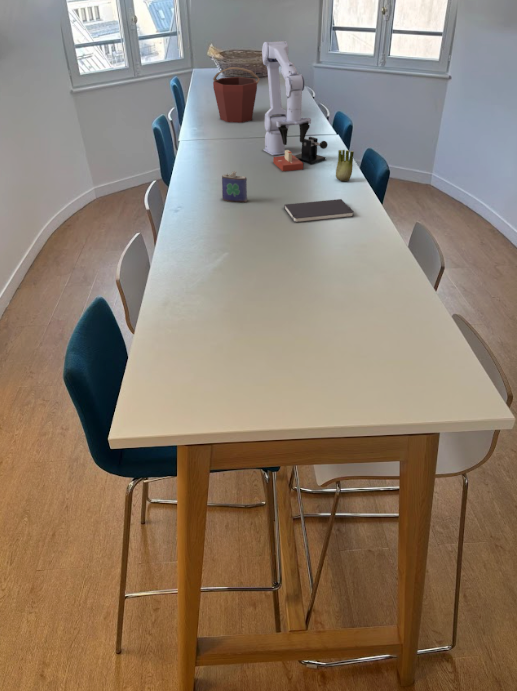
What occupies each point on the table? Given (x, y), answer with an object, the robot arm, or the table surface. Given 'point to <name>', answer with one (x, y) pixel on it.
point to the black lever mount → (309, 152)
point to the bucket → (235, 96)
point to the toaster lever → (319, 144)
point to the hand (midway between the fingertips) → (293, 143)
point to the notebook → (318, 210)
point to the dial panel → (287, 163)
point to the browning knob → (288, 155)
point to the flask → (234, 188)
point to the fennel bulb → (344, 165)
